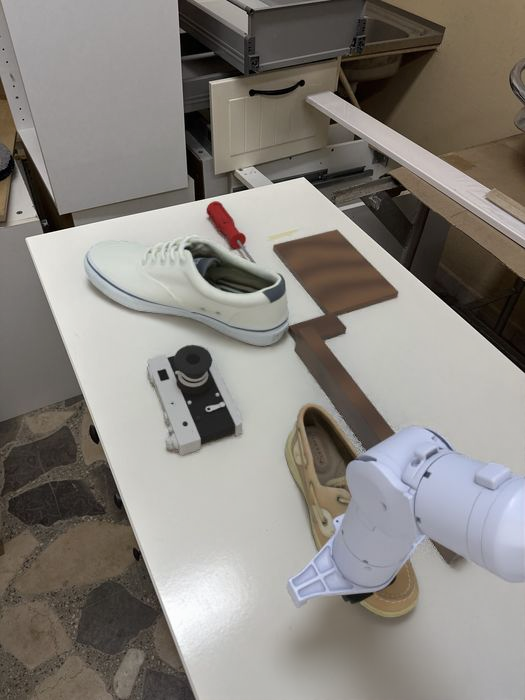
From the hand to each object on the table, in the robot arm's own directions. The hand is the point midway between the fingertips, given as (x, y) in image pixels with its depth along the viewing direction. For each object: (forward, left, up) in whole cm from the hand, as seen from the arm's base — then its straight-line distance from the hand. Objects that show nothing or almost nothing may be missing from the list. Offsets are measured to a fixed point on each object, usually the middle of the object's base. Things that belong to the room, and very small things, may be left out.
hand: (345, 589), depth 53 cm
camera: (+31, +5, -4) cm, 32 cm away
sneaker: (+50, -2, -4) cm, 50 cm away
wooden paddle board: (+28, -25, -3) cm, 37 cm away
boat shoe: (+8, -5, -4) cm, 10 cm away
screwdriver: (+60, -16, -4) cm, 62 cm away
